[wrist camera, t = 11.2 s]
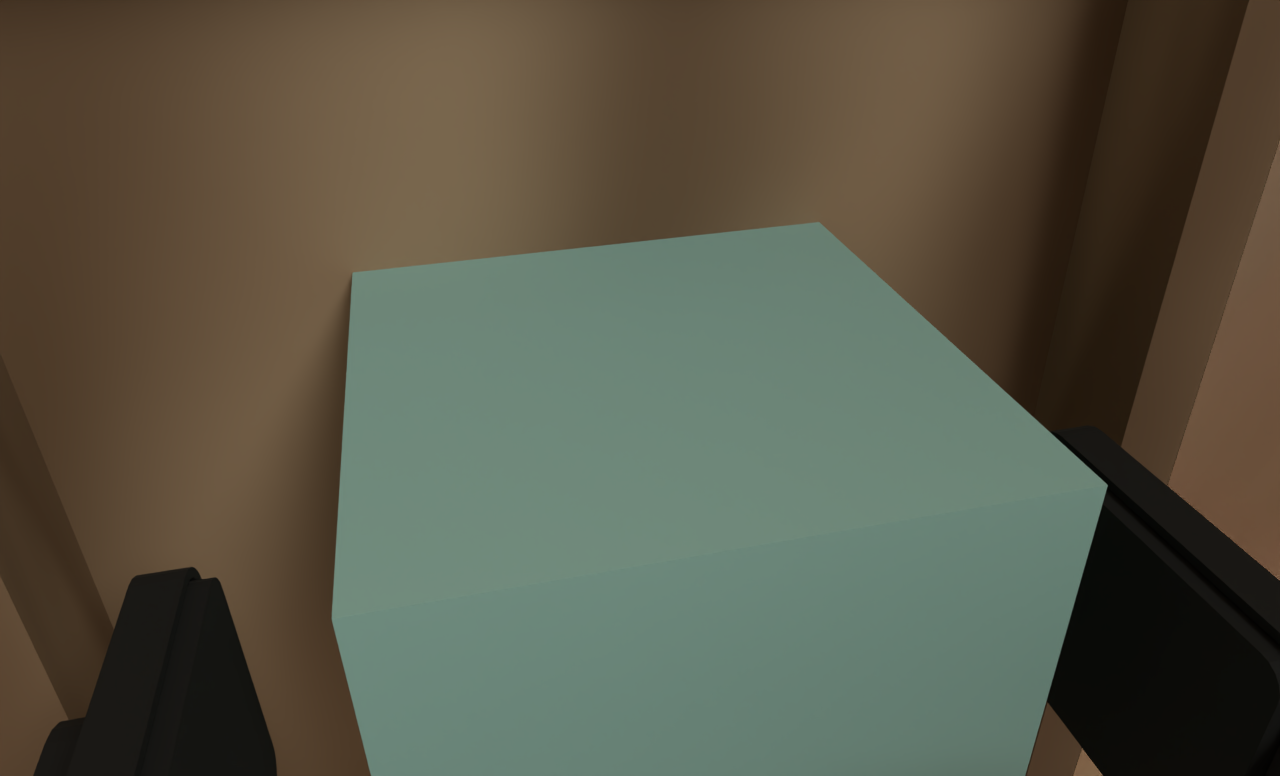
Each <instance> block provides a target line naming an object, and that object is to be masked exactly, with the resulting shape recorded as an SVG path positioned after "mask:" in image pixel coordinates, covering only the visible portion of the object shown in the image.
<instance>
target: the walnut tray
mask: <svg viewBox="0 0 1280 776" xmlns="http://www.w3.org/2000/svg"><path fill="white" fill-rule="evenodd" d="M1279 140H1280V0H0V776H33V774H34V772H35V769H36V766H37V763H38V761H39V758H40V755H41V752H42V750H43V747H44V744H45V742H46V740H47V738H48V736H49V734H50V732H51V730H52V729H53V728H54V727H55V726H56V725H57V724H58V723H59V722H61V721H66V720H72V719H77V718H83V717H85V716H86V713H87V710H88V707H89V704H90V701H91V698H92V695H93V692H94V689H95V686H96V683H97V680H98V677H99V674H100V671H101V668H102V665H103V662H104V658H105V655H106V652H107V649H108V646H109V643H110V640H111V637H112V634H113V631H114V628H115V625H116V622H117V619H118V616H119V613H120V610H121V607H122V604H123V601H124V598H125V595H126V592H127V589H128V586H129V584H130V581H131V579H132V578H133V577H135V576H136V575H142V574H149V573H155V572H161V571H168V570H174V569H180V568H187V567H194V568H196V569H197V571H198V572H199V574H200V576H201V579H207V578H213V577H216V578H218V580H219V581H220V583H221V585H222V588H223V591H224V594H225V597H226V600H227V603H228V606H229V610H230V613H231V616H232V619H233V622H234V625H235V628H236V631H237V634H238V638H239V641H240V644H241V647H242V650H243V653H244V656H245V659H246V662H247V665H248V669H249V672H250V675H251V678H252V681H253V684H254V687H255V690H256V693H257V697H258V700H259V703H260V706H261V709H262V712H263V715H264V718H265V721H266V724H267V728H268V731H269V734H270V737H271V740H272V743H273V746H274V750H275V756H276V765H277V776H371V774H370V770H369V766H368V762H367V758H366V754H365V750H364V746H363V742H362V738H361V734H360V730H359V726H358V722H357V718H356V714H355V710H354V706H353V702H352V698H351V694H350V690H349V686H348V682H347V678H346V674H345V670H344V666H343V662H342V658H341V654H340V651H339V647H338V643H337V639H336V635H335V631H334V627H333V623H332V604H333V587H334V570H335V554H336V537H337V521H338V504H339V488H340V471H341V454H342V438H343V421H344V405H345V388H346V372H347V355H348V338H349V322H350V305H351V289H352V273H353V272H362V271H372V270H381V269H390V268H399V267H409V266H418V265H427V264H436V263H446V262H455V261H464V260H473V259H483V258H492V257H501V256H510V255H519V254H529V253H538V252H547V251H556V250H566V249H575V248H584V247H593V246H603V245H612V244H621V243H630V242H640V241H649V240H658V239H667V238H677V237H686V236H695V235H704V234H714V233H723V232H732V231H741V230H751V229H760V228H769V227H778V226H788V225H797V224H806V223H815V222H820V223H821V224H822V225H823V226H824V227H825V228H826V229H827V230H828V231H830V232H831V233H832V234H833V235H834V236H835V237H836V238H837V239H838V240H839V241H841V242H842V243H843V244H844V245H845V246H846V247H847V248H848V249H849V250H850V251H851V252H853V253H854V254H855V255H856V256H857V257H858V258H859V259H860V260H861V261H862V262H864V263H865V264H866V265H867V266H868V267H869V268H870V269H871V270H872V271H873V272H875V273H876V274H877V275H878V276H879V277H880V278H881V279H882V280H883V281H884V282H886V283H887V284H888V285H889V286H890V287H891V288H892V289H893V290H894V291H895V292H897V293H898V294H899V295H900V296H901V297H902V298H903V299H904V300H905V301H906V302H907V303H909V304H910V305H911V306H912V307H913V308H914V309H915V310H916V311H917V312H918V313H920V314H921V315H922V316H923V317H924V318H925V319H926V320H927V321H928V322H929V323H931V324H932V325H933V326H934V327H935V328H936V329H937V330H938V331H939V332H940V333H942V334H943V335H944V336H945V337H946V338H947V339H948V340H949V341H950V342H951V343H952V344H954V345H955V346H956V347H957V348H958V349H959V350H960V351H961V352H962V353H963V354H965V355H966V356H967V357H968V358H969V359H970V360H971V361H972V362H973V363H974V364H976V365H977V366H978V367H979V368H980V369H981V370H982V371H983V372H984V373H985V374H987V375H988V376H989V377H990V378H991V379H992V380H993V381H994V382H995V383H996V384H997V385H999V386H1000V387H1001V388H1002V389H1003V390H1004V391H1005V392H1006V393H1007V394H1008V395H1010V396H1011V397H1012V398H1013V399H1014V400H1015V401H1016V402H1017V403H1018V404H1019V405H1021V406H1022V407H1023V408H1024V409H1025V410H1026V411H1027V412H1028V413H1029V414H1030V415H1032V416H1033V417H1034V418H1035V419H1036V420H1037V421H1038V422H1039V423H1040V424H1041V425H1042V426H1044V427H1045V428H1046V429H1047V430H1048V431H1055V430H1061V429H1067V428H1074V427H1080V426H1086V425H1089V426H1095V427H1096V428H1098V429H1100V430H1101V431H1103V432H1104V433H1105V434H1106V435H1107V436H1109V437H1110V438H1111V439H1112V440H1113V441H1115V442H1116V443H1117V444H1118V445H1119V446H1120V447H1122V448H1123V449H1124V450H1125V451H1126V452H1128V453H1129V454H1130V455H1131V456H1132V457H1133V458H1135V459H1136V460H1137V461H1138V462H1139V463H1141V464H1142V465H1143V466H1144V467H1145V468H1147V469H1148V470H1149V471H1150V472H1151V473H1152V474H1154V475H1155V476H1156V477H1157V478H1158V479H1160V480H1161V481H1162V482H1163V483H1164V484H1165V485H1168V482H1169V479H1170V476H1171V473H1172V470H1173V466H1174V463H1175V460H1176V457H1177V454H1178V451H1179V448H1180V445H1181V442H1182V439H1183V436H1184V433H1185V430H1186V426H1187V423H1188V420H1189V417H1190V414H1191V411H1192V408H1193V405H1194V402H1195V399H1196V396H1197V393H1198V390H1199V386H1200V383H1201V380H1202V377H1203V374H1204V371H1205V368H1206V365H1207V362H1208V359H1209V356H1210V353H1211V350H1212V346H1213V343H1214V340H1215V337H1216V334H1217V331H1218V328H1219V325H1220V322H1221V319H1222V316H1223V313H1224V310H1225V306H1226V303H1227V300H1228V297H1229V294H1230V291H1231V288H1232V285H1233V282H1234V279H1235V276H1236V273H1237V270H1238V266H1239V263H1240V260H1241V257H1242V254H1243V251H1244V248H1245V245H1246V242H1247V239H1248V236H1249V233H1250V230H1251V227H1252V223H1253V220H1254V217H1255V214H1256V211H1257V208H1258V205H1259V202H1260V199H1261V196H1262V193H1263V190H1264V187H1265V183H1266V180H1267V177H1268V174H1269V171H1270V168H1271V165H1272V162H1273V159H1274V156H1275V153H1276V150H1277V147H1278V143H1279ZM1081 749H1082V747H1081V746H1080V744H1079V743H1078V742H1077V740H1076V739H1075V738H1074V736H1073V735H1072V734H1071V732H1070V731H1069V730H1068V729H1067V727H1066V726H1065V725H1064V723H1063V722H1062V721H1061V719H1060V718H1059V717H1058V715H1057V714H1056V713H1055V711H1054V710H1053V709H1052V707H1051V706H1050V705H1049V703H1048V702H1047V701H1046V704H1045V708H1044V711H1043V715H1042V718H1041V722H1040V725H1039V729H1038V732H1037V736H1036V739H1035V743H1034V746H1033V750H1032V754H1031V757H1030V761H1029V764H1028V768H1027V771H1026V775H1025V776H1073V774H1074V771H1075V768H1076V765H1077V762H1078V759H1079V756H1080V753H1081Z"/></svg>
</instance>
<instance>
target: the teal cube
mask: <svg viewBox="0 0 1280 776" xmlns="http://www.w3.org/2000/svg"><path fill="white" fill-rule="evenodd" d="M1107 487H1108V485H1107V484H1106V483H1105V482H1104V481H1103V480H1102V479H1101V478H1100V477H1098V476H1097V475H1096V474H1095V473H1094V472H1093V471H1092V470H1091V469H1090V468H1089V467H1088V466H1086V465H1085V464H1084V463H1083V462H1082V461H1081V460H1080V459H1079V458H1078V457H1077V456H1075V455H1074V454H1073V453H1072V452H1071V451H1070V450H1069V449H1068V448H1067V447H1066V446H1064V445H1063V444H1062V443H1061V442H1060V441H1059V440H1058V439H1057V438H1056V437H1055V436H1053V435H1052V434H1051V433H1050V432H1049V431H1048V430H1047V429H1046V428H1045V427H1044V426H1042V425H1041V424H1040V423H1039V422H1038V421H1037V420H1036V419H1035V418H1034V417H1033V416H1032V415H1030V414H1029V413H1028V412H1027V411H1026V410H1025V409H1024V408H1023V407H1022V406H1021V405H1019V404H1018V403H1017V402H1016V401H1015V400H1014V399H1013V398H1012V397H1011V396H1010V395H1008V394H1007V393H1006V392H1005V391H1004V390H1003V389H1002V388H1001V387H1000V386H999V385H997V384H996V383H995V382H994V381H993V380H992V379H991V378H990V377H989V376H988V375H987V374H985V373H984V372H983V371H982V370H981V369H980V368H979V367H978V366H977V365H976V364H974V363H973V362H972V361H971V360H970V359H969V358H968V357H967V356H966V355H965V354H963V353H962V352H961V351H960V350H959V349H958V348H957V347H956V346H955V345H954V344H952V343H951V342H950V341H949V340H948V339H947V338H946V337H945V336H944V335H943V334H942V333H940V332H939V331H938V330H937V329H936V328H935V327H934V326H933V325H932V324H931V323H929V322H928V321H927V320H926V319H925V318H924V317H923V316H922V315H921V314H920V313H918V312H917V311H916V310H915V309H914V308H913V307H912V306H911V305H910V304H909V303H907V302H906V301H905V300H904V299H903V298H902V297H901V296H900V295H899V294H898V293H897V292H895V291H894V290H893V289H892V288H891V287H890V286H889V285H888V284H887V283H886V282H884V281H883V280H882V279H881V278H880V277H879V276H878V275H877V274H876V273H875V272H873V271H872V270H871V269H870V268H869V267H868V266H867V265H866V264H865V263H864V262H862V261H861V260H860V259H859V258H858V257H857V256H856V255H855V254H854V253H853V252H851V251H850V250H849V249H848V248H847V247H846V246H845V245H844V244H843V243H842V242H841V241H839V240H838V239H837V238H836V237H835V236H834V235H833V234H832V233H831V232H830V231H828V230H827V229H826V228H825V227H824V226H823V225H822V224H821V223H820V222H815V223H806V224H797V225H788V226H778V227H769V228H760V229H751V230H741V231H732V232H723V233H714V234H704V235H695V236H686V237H677V238H667V239H658V240H649V241H640V242H630V243H621V244H612V245H603V246H593V247H584V248H575V249H566V250H556V251H547V252H538V253H529V254H519V255H510V256H501V257H492V258H483V259H473V260H464V261H455V262H446V263H436V264H427V265H418V266H409V267H399V268H390V269H381V270H372V271H362V272H353V273H352V289H351V305H350V322H349V338H348V355H347V372H346V388H345V405H344V421H343V438H342V454H341V471H340V488H339V504H338V521H337V537H336V554H335V570H334V587H333V604H332V623H333V627H334V631H335V635H336V639H337V643H338V647H339V651H340V654H341V658H342V662H343V666H344V670H345V674H346V678H347V682H348V686H349V690H350V694H351V698H352V702H353V706H354V710H355V714H356V718H357V722H358V726H359V730H360V734H361V738H362V742H363V746H364V750H365V754H366V758H367V762H368V766H369V770H370V774H371V776H1025V775H1026V771H1027V768H1028V764H1029V761H1030V757H1031V754H1032V750H1033V746H1034V743H1035V739H1036V736H1037V732H1038V729H1039V725H1040V722H1041V718H1042V715H1043V711H1044V708H1045V704H1046V701H1047V697H1048V694H1049V690H1050V687H1051V683H1052V680H1053V676H1054V673H1055V669H1056V666H1057V662H1058V659H1059V655H1060V652H1061V648H1062V645H1063V641H1064V638H1065V634H1066V631H1067V627H1068V624H1069V620H1070V617H1071V613H1072V609H1073V606H1074V602H1075V599H1076V595H1077V592H1078V588H1079V585H1080V581H1081V578H1082V574H1083V571H1084V567H1085V564H1086V560H1087V557H1088V553H1089V550H1090V546H1091V543H1092V539H1093V536H1094V532H1095V529H1096V525H1097V522H1098V518H1099V515H1100V511H1101V508H1102V504H1103V501H1104V497H1105V494H1106V490H1107Z"/></svg>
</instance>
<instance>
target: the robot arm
mask: <svg viewBox="0 0 1280 776" xmlns="http://www.w3.org/2000/svg"><path fill="white" fill-rule="evenodd" d="M1049 432H1050V433H1051V434H1052V435H1053V436H1055V437H1056V438H1057V439H1058V440H1059V441H1060V442H1061V443H1062V444H1063V445H1064V446H1066V447H1067V448H1068V449H1069V450H1070V451H1071V452H1072V453H1073V454H1074V455H1075V456H1077V457H1078V458H1079V459H1080V460H1081V461H1082V462H1083V463H1084V464H1085V465H1086V466H1088V467H1089V468H1090V469H1091V470H1092V471H1093V472H1094V473H1095V474H1096V475H1097V476H1098V477H1100V478H1101V479H1102V480H1103V481H1104V482H1105V483H1106V484H1107V485H1108V487H1107V490H1106V494H1105V497H1104V501H1103V504H1102V508H1101V511H1100V515H1099V518H1098V522H1097V525H1096V529H1095V532H1094V536H1093V539H1092V543H1091V546H1090V550H1089V553H1088V557H1087V560H1086V564H1085V567H1084V571H1083V574H1082V578H1081V581H1080V585H1079V588H1078V592H1077V595H1076V599H1075V602H1074V606H1073V609H1072V613H1071V617H1070V620H1069V624H1068V627H1067V631H1066V634H1065V638H1064V641H1063V645H1062V648H1061V652H1060V655H1059V659H1058V662H1057V666H1056V669H1055V673H1054V676H1053V680H1052V683H1051V687H1050V690H1049V694H1048V697H1047V702H1048V703H1049V705H1050V706H1051V707H1052V709H1053V710H1054V711H1055V713H1056V714H1057V715H1058V717H1059V718H1060V719H1061V721H1062V722H1063V723H1064V725H1065V726H1066V727H1067V729H1068V730H1069V731H1070V732H1071V734H1072V735H1073V736H1074V738H1075V739H1076V740H1077V742H1078V743H1079V744H1080V746H1081V747H1082V748H1083V750H1084V751H1085V752H1086V754H1087V755H1088V756H1089V758H1090V759H1091V760H1092V761H1093V763H1094V764H1095V765H1096V767H1097V768H1098V769H1099V771H1100V772H1101V773H1102V775H1103V776H1280V581H1279V580H1278V579H1277V578H1276V577H1275V576H1273V575H1272V574H1271V573H1270V572H1269V571H1267V570H1266V569H1265V568H1264V567H1263V566H1262V565H1260V564H1259V563H1258V562H1257V561H1256V560H1254V559H1253V558H1252V557H1251V556H1250V555H1248V554H1247V553H1246V552H1245V551H1244V550H1243V549H1241V548H1240V547H1239V546H1238V545H1237V544H1235V543H1234V542H1233V541H1232V540H1231V539H1230V538H1228V537H1227V536H1226V535H1225V534H1224V533H1222V532H1221V531H1220V530H1219V529H1218V528H1216V527H1215V526H1214V525H1213V524H1212V523H1211V522H1209V521H1208V520H1207V519H1206V518H1205V517H1203V516H1202V515H1201V514H1200V513H1199V512H1198V511H1196V510H1195V509H1194V508H1193V507H1192V506H1190V505H1189V504H1188V503H1187V502H1186V501H1184V500H1183V499H1182V498H1181V497H1180V496H1179V495H1177V494H1176V493H1175V492H1174V491H1173V490H1171V489H1170V488H1169V487H1168V486H1167V485H1165V484H1164V483H1163V482H1162V481H1161V480H1160V479H1158V478H1157V477H1156V476H1155V475H1154V474H1152V473H1151V472H1150V471H1149V470H1148V469H1147V468H1145V467H1144V466H1143V465H1142V464H1141V463H1139V462H1138V461H1137V460H1136V459H1135V458H1133V457H1132V456H1131V455H1130V454H1129V453H1128V452H1126V451H1125V450H1124V449H1123V448H1122V447H1120V446H1119V445H1118V444H1117V443H1116V442H1115V441H1113V440H1112V439H1111V438H1110V437H1109V436H1107V435H1106V434H1105V433H1104V432H1103V431H1101V430H1100V429H1098V428H1096V427H1095V426H1089V425H1086V426H1080V427H1074V428H1067V429H1061V430H1055V431H1049ZM33 776H277V765H276V756H275V750H274V746H273V743H272V740H271V737H270V734H269V731H268V728H267V724H266V721H265V718H264V715H263V712H262V709H261V706H260V703H259V700H258V697H257V693H256V690H255V687H254V684H253V681H252V678H251V675H250V672H249V669H248V665H247V662H246V659H245V656H244V653H243V650H242V647H241V644H240V641H239V638H238V634H237V631H236V628H235V625H234V622H233V619H232V616H231V613H230V610H229V606H228V603H227V600H226V597H225V594H224V591H223V588H222V585H221V583H220V581H219V580H218V578H216V577H213V578H207V579H201V576H200V574H199V572H198V571H197V569H196V568H194V567H187V568H180V569H174V570H168V571H161V572H155V573H149V574H142V575H136V576H135V577H133V578H132V579H131V581H130V584H129V586H128V589H127V592H126V595H125V598H124V601H123V604H122V607H121V610H120V613H119V616H118V619H117V622H116V625H115V628H114V631H113V634H112V637H111V640H110V643H109V646H108V649H107V652H106V655H105V658H104V662H103V665H102V668H101V671H100V674H99V677H98V680H97V683H96V686H95V689H94V692H93V695H92V698H91V701H90V704H89V707H88V710H87V713H86V716H85V717H83V718H77V719H72V720H66V721H61V722H59V723H58V724H57V725H56V726H55V727H54V728H53V729H52V730H51V732H50V734H49V736H48V738H47V740H46V742H45V744H44V747H43V750H42V752H41V755H40V758H39V761H38V763H37V766H36V769H35V772H34V774H33Z"/></svg>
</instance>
